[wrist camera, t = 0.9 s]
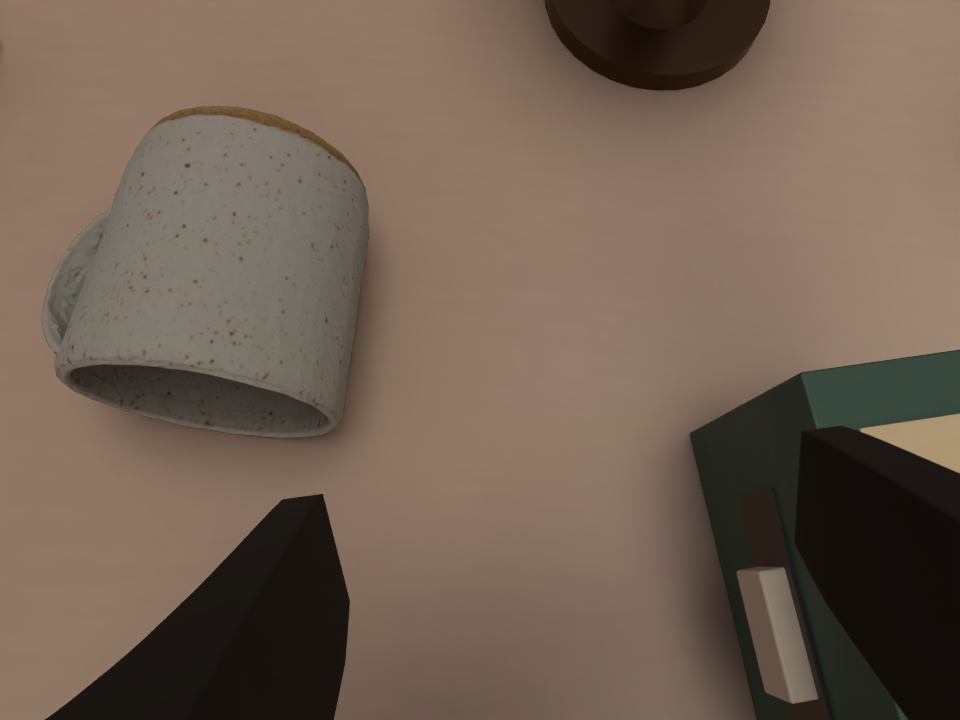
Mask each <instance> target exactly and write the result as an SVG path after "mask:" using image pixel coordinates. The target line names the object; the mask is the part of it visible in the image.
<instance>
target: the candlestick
mask: <svg viewBox="0 0 960 720" xmlns="http://www.w3.org/2000/svg"><path fill="white" fill-rule="evenodd" d="M545 5H546V10H547V12H548V15H549V18H550V21H551V24H552V26H553V28H554V30H555V31H556V33H557V35H558V36H559V38H560V40H561V41H562V42H563V44H564V45H565V46H566V47H567V48H568V49H569V50H570V51H571V52H572V53H573V55H574V56H575V57H576V58H578V59H579V60H580V61H582V62H583V63H584V64H586V65H587V66H588V67H590V68H591V69H592V70H594V71H596V72H598V73H600V74H602V75H604V76H606V77H608V78H610V79H611V80H614V81H617V82H620V83H623V84H627V85H630V86H633V87H639V88H645V89H652V90H678V89H683V88H688V87H693V86H698V85H701V84H703V83H706V82H708V81H711V80H713V79H716V78H718V77H719V76H721V75H722V74H724V73H725V72H727V71H728V70H730V69H731V68H733V67H734V66H735V65H736V64H737V63H738V62H739V61H740V60H741V59H742V58H743V57H744V56H745V55H746V54H747V52H748V50H749V49H750V47H751V45H752V43H753V42H754V40H755V38H756V37H757V35H758V33H759V31H760V30H761V28H762V26H763V24H764V23H765V20H766V17H767V13H768V10H769V6H770V0H545Z"/></svg>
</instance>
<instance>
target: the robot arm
mask: <svg viewBox="0 0 960 720" xmlns="http://www.w3.org/2000/svg"><path fill="white" fill-rule="evenodd" d="M794 543H795V545H796V547H797V549H798V551H799V553H800V555H801V557H802V559H803V561H804V563H805V565H806V567H807V569H808V571H809V573H810V575H811V577H812V579H813V581H814V583H815V584H816V586H817V588H818V590H819V592H820V594H821V595H822V597H823V599H824V601H825V603H826V604H827V605H828V607H829V608H830V610H831V611H832V613H833V614H834V616H835V617H836V619H837V620H838V622H839V623H840V624H841V626H842V627H843V629H844V630H845V632H846V633H847V634H848V636H849V637H850V639H851V640H852V642H853V643H854V644H855V646H856V647H857V649H858V650H859V652H860V653H861V654H862V656H863V657H864V659H865V660H866V661H867V663H868V664H869V666H870V667H871V668H872V670H873V671H874V673H875V674H876V675H877V677H878V678H879V680H880V681H881V682H882V684H883V685H884V687H885V688H886V689H887V691H888V692H889V694H890V695H891V696H892V698H893V699H894V701H895V702H896V704H897V705H898V706H899V708H900V709H901V711H902V712H903V713H904V715H905V716H906V718H907V719H908V720H960V473H958V472H956V471H953V470H951V469H949V468H946V467H944V466H942V465H939V464H937V463H935V462H932V461H930V460H928V459H925V458H923V457H921V456H918V455H916V454H914V453H911V452H909V451H907V450H904V449H902V448H900V447H897V446H895V445H893V444H890V443H888V442H885V441H883V440H881V439H878V438H876V437H873V436H871V435H868V434H866V433H863V432H860V431H857V430H855V429H852V428H849V427H846V426H834V427H827V428H819V429H811V430H804V431H801V442H800V458H799V474H798V490H797V505H796V521H795V537H794ZM349 605H350V600H349V596H348V592H347V588H346V584H345V580H344V576H343V572H342V568H341V564H340V560H339V556H338V552H337V548H336V544H335V540H334V537H333V533H332V529H331V525H330V521H329V517H328V513H327V509H326V505H325V501H324V497H323V494H319V495H312V496H304V497H297V498H289V499H283V500H282V501H280V502H279V503H278V504H277V505H276V506H275V507H274V508H273V509H272V510H271V511H270V512H269V513H268V514H267V515H266V516H265V518H264V519H263V520H262V521H261V522H260V523H259V524H258V525H257V526H256V527H255V528H254V529H253V530H252V531H251V532H250V534H249V535H248V536H247V537H246V538H245V539H244V540H243V541H242V542H241V543H240V544H239V545H238V546H237V547H236V549H235V550H234V551H233V552H232V553H231V554H230V555H229V556H228V557H227V558H226V559H225V560H224V561H223V562H222V563H221V564H220V565H219V566H218V567H217V568H216V569H215V570H214V571H213V573H212V574H211V575H210V576H209V577H208V578H207V579H206V580H205V581H204V582H203V583H202V584H201V585H200V586H199V587H198V588H197V589H196V590H195V591H194V592H193V593H192V594H191V595H190V596H189V597H188V598H187V599H186V600H184V601H183V602H182V603H181V604H180V605H179V606H178V607H177V608H176V609H175V610H174V611H173V612H172V613H171V614H170V615H169V616H168V617H167V618H166V619H165V620H163V621H162V622H161V623H160V624H159V625H158V626H157V627H156V628H155V629H154V630H153V631H152V632H151V633H150V634H149V635H148V636H147V637H146V638H145V639H144V640H142V641H141V642H140V643H139V644H138V645H137V646H136V647H135V648H133V649H132V650H131V651H130V652H129V653H128V654H127V655H125V656H124V657H123V658H122V659H121V660H120V661H118V662H117V663H116V664H115V665H114V666H113V667H111V668H110V669H109V670H108V671H107V672H105V673H104V674H103V675H102V676H100V677H99V678H98V679H97V680H95V681H94V682H93V683H92V684H90V685H89V686H88V687H87V688H86V689H84V690H83V691H82V692H81V693H79V694H78V695H77V696H76V697H74V698H73V699H72V700H71V701H69V702H68V703H67V704H65V705H64V706H63V707H62V708H60V709H59V710H58V711H56V712H55V713H54V714H52V715H51V716H49V717H48V718H47V719H45V720H334V716H335V711H336V706H337V701H338V696H339V691H340V686H341V682H342V676H343V671H344V666H345V657H346V646H347V635H348V620H349Z"/></svg>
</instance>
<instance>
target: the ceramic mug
mask: <svg viewBox="0 0 960 720" xmlns="http://www.w3.org/2000/svg"><path fill="white" fill-rule="evenodd" d="M368 208H369V206H368V200H367V195H366V190H365V187H364V185H363V183H362V181H361V179H360V177H359V175H358V173H357V171H356V170H355V169H354V167H353V166H352V165H351V164H350V163H349V161H348V160H347V159H346V158H345V157H344V155H343V154H341V153H340V152H339V151H338V150H336V149H335V148H334V147H333V146H331V145H330V144H329V143H327V142H326V141H325V140H323V139H322V138H320V137H319V136H317V135H316V134H315V133H313V132H311V131H309V130H307V129H305V128H303V127H300V126H298V125H296V124H294V123H292V122H290V121H287V120H285V119H283V118H281V117H278V116H276V115H272V114H267V113H263V112H259V111H255V110H250V109H245V108H240V107H225V106H206V107H196V108H190V109H185V110H180V111H177V112H175V113H173V114H171V115H169V116H167V117H164V118H163V119H161V120H160V121H159V122H158V123H157V124H156V125H155V126H153V127H152V128H151V129H150V130H149V131H148V133H147V134H146V135H145V137H144V138H143V139H142V140H141V142H140V143H139V145H138V147H137V148H136V150H135V152H134V153H133V155H132V157H131V159H130V160H129V162H128V164H127V167H126V169H125V172H124V174H123V177H122V179H121V182H120V184H119V186H118V189H117V191H116V194H115V198H114V201H113V205H112V208H111V210H109V211H107V212H105V213H103V214H101V215H99V216H98V217H97V218H96V219H94V220H93V221H92V222H91V223H90V224H89V225H88V226H87V227H86V228H85V229H84V230H83V231H82V232H81V233H80V234H79V235H78V236H77V238H76V239H75V240H74V241H73V242H72V243H71V245H70V246H69V248H68V250H67V251H66V253H65V254H64V256H63V257H62V259H61V260H60V262H59V264H58V267H57V269H56V270H55V272H54V275H53V277H52V279H51V282H50V284H49V286H48V289H47V293H46V296H45V300H44V306H43V315H42V327H43V333H44V336H45V338H46V341H47V343H48V345H49V346H50V347H51V349H52V350H53V351H54V352H55V354H56V355H57V356H58V357H57V360H56V363H55V370H56V375H57V377H58V378H59V380H60V381H61V382H62V383H64V384H65V385H67V386H68V387H69V388H71V389H72V390H73V391H75V392H77V393H79V394H81V395H84V396H86V397H88V398H91V399H93V400H96V401H99V402H101V403H104V404H107V405H110V406H113V407H116V408H119V409H121V410H124V411H128V412H132V413H136V414H139V415H143V416H146V417H149V418H153V419H158V420H163V421H166V422H170V423H175V424H179V425H184V426H188V427H193V428H204V429H210V430H217V431H221V432H226V433H232V434H240V435H252V436H263V437H279V438H289V437H310V436H318V435H323V434H326V433H328V432H330V431H332V430H334V429H335V428H336V427H337V426H338V424H339V423H340V422H341V420H342V415H343V410H344V405H345V397H346V389H347V380H348V373H349V366H350V360H351V354H352V347H353V341H354V334H355V328H356V322H357V315H358V304H359V296H360V290H361V284H362V278H363V272H364V266H365V259H366V252H367V245H368V238H369V224H368Z"/></svg>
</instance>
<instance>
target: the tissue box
mask: <svg viewBox="0 0 960 720" xmlns="http://www.w3.org/2000/svg"><path fill="white" fill-rule="evenodd" d="M834 426H846V427H849V428H852V429H855V430H857V431H860V432H863V433H866V434H868V435H871V436H873V437H876V438H878V439H881V440H883V441H885V442H888V443H890V444H893V445H895V446H897V447H900V448H902V449H904V450H907V451H909V452H911V453H914V454H916V455H918V456H921V457H923V458H925V459H928V460H930V461H932V462H935V463H937V464H939V465H942V466H944V467H946V468H949V469H951V470H953V471H956V472H958V473H960V350H955V351H948V352H941V353H934V354H927V355H920V356H913V357H906V358H899V359H892V360H885V361H878V362H871V363H864V364H857V365H850V366H843V367H836V368H829V369H822V370H815V371H808V372H801V373H799V374H798V375H796V376H794V377H792V378H790V379H788V380H787V381H785V382H783V383H781V384H779V385H777V386H776V387H774V388H772V389H770V390H768V391H766V392H765V393H763V394H761V395H759V396H757V397H755V398H754V399H752V400H750V401H748V402H746V403H744V404H743V405H741V406H739V407H737V408H735V409H733V410H732V411H730V412H728V413H726V414H724V415H722V416H721V417H719V418H717V419H715V420H713V421H711V422H710V423H708V424H706V425H704V426H702V427H700V428H699V429H697V430H695V431H693V432H691V433H690V436H691V440H692V444H693V448H694V453H695V457H696V461H697V465H698V470H699V474H700V478H701V482H702V487H703V491H704V495H705V499H706V504H707V508H708V512H709V516H710V520H711V525H712V529H713V533H714V537H715V542H716V546H717V550H718V554H719V559H720V563H721V567H722V571H723V576H724V580H725V584H726V588H727V593H728V597H729V601H730V605H731V610H732V614H733V618H734V622H735V627H736V631H737V635H738V639H739V644H740V648H741V652H742V656H743V660H744V665H745V669H746V673H747V677H748V682H749V686H750V690H751V694H752V699H753V703H754V707H755V711H756V716H757V720H908V719H907V718H906V716H905V715H904V713H903V712H902V711H901V709H900V708H899V706H898V705H897V704H896V702H895V701H894V699H893V698H892V696H891V695H890V694H889V692H888V691H887V689H886V688H885V687H884V685H883V684H882V682H881V681H880V680H879V678H878V677H877V675H876V674H875V673H874V671H873V670H872V668H871V667H870V666H869V664H868V663H867V661H866V660H865V659H864V657H863V656H862V654H861V653H860V652H859V650H858V649H857V647H856V646H855V644H854V643H853V642H852V640H851V639H850V637H849V636H848V634H847V633H846V632H845V630H844V629H843V627H842V626H841V624H840V623H839V622H838V620H837V619H836V617H835V616H834V614H833V613H832V611H831V610H830V608H829V607H828V605H827V604H826V603H825V601H824V599H823V597H822V595H821V594H820V592H819V590H818V588H817V586H816V584H815V583H814V581H813V579H812V577H811V575H810V573H809V571H808V569H807V567H806V565H805V563H804V561H803V559H802V557H801V555H800V553H799V551H798V549H797V547H796V545H795V543H794V537H795V521H796V505H797V490H798V474H799V458H800V442H801V431H804V430H811V429H819V428H827V427H834Z"/></svg>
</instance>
